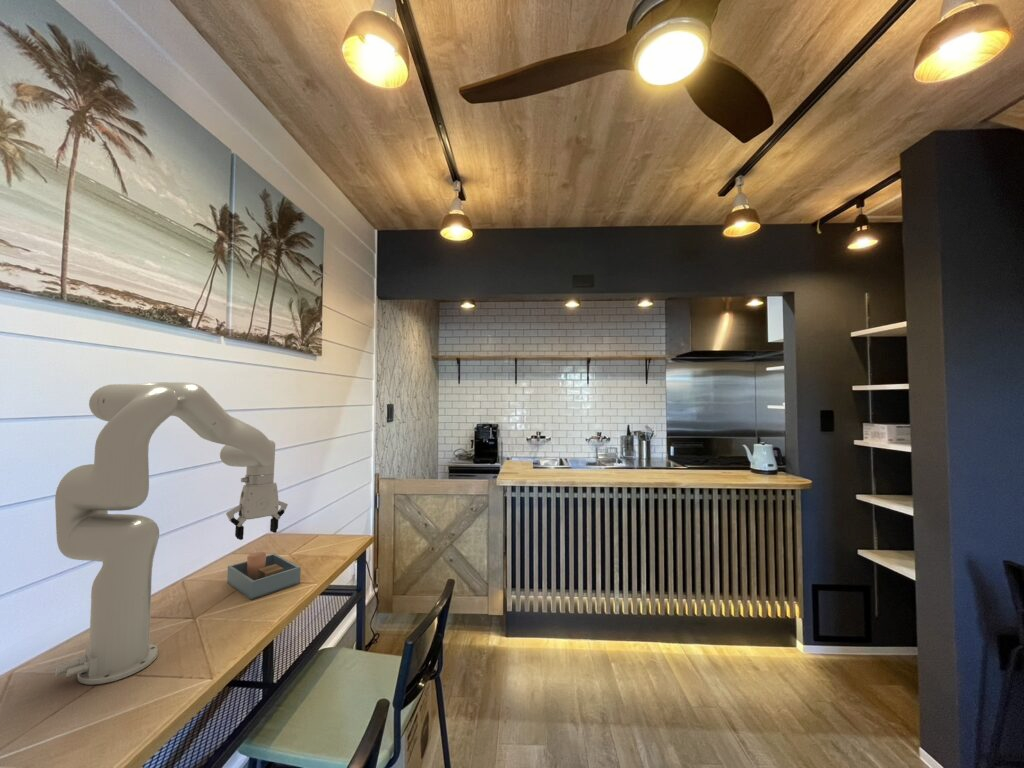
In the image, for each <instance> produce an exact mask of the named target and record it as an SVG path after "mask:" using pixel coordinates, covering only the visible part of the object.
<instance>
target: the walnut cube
mask: <svg viewBox="0 0 1024 768" xmlns="http://www.w3.org/2000/svg"><path fill="white" fill-rule="evenodd" d="M280 572H283V568H282V567H280V566H278V565H277V564H274V565H270V566H267V567H264V568H260V569H258V579H261V578H264V577H267V576H270V575H273V574H277V573H280Z"/></svg>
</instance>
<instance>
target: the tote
mask: <svg viewBox="0 0 1024 768" xmlns="http://www.w3.org/2000/svg"><path fill="white" fill-rule="evenodd" d="M274 564H277V565H278V566H280V567H282V568H283V572H280V573H277V574H273V575H270V576H267V577H264V578H261V579H257V580H252V579H251V578H249V577H248V576H247V560H246V561H242V562H238V563H235V564H231V565H228V566H227V579H226V580H227V584H228V585H229V586H231V587H232V588H234V590H237V591H238V593H241V594H242V595H244V596H245V597H246V598H247V599H249V600H250V599H251V600H250V601H253V599H254V600H257V599H259V598H262V597H265V596H268V595H271V594H275V593H277V592H279V591H282V590H283V591H284V590H285V589H289V588H292V587H295V586H298V585H300V584H301V569H302V568H301V566H299V565H297V564H295V563H294V562H291V561H290V560H287V559H286V558H284V557H282V556H280V555H278V554H276V553H271V554H266V567H267V566H270V565H274Z"/></svg>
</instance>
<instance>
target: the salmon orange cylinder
mask: <svg viewBox="0 0 1024 768" xmlns="http://www.w3.org/2000/svg"><path fill="white" fill-rule="evenodd" d="M266 556H267V553H266V552H264V551H257V552H253V553H249V554H248V555H247V558H246V559H247V560H246V561H247V576H248V577H249V578H251V579H252V580H257V579H258V569H260V568H264V567H266Z"/></svg>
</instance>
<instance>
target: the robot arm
mask: <svg viewBox="0 0 1024 768" xmlns="http://www.w3.org/2000/svg"><path fill="white" fill-rule="evenodd" d="M88 407H89V409H90V412H91V413H92V415H94V417H96V418H97V419H99V420H101V421H104V422H107V423H106V424H105V425H104V426H103V428H102V429H101V430H100V432H99V434H98V436H97V438H96V440H95V445H94V461H93V462H94V463H93V464H91V463H89V464H84V465H80V466H77V467H74V468H72V469H71V470H70V471H68V472H67V473H65V474H64V476H63V477H62V478H61V480H60V481H59V483H58V485H57V487H56V490H55V499H54V504H55V505H54V506H55V507H54V508H55V531H56V533H55V535H56V542H57V546H58V550H59V552H60V553H61V554H62V555H63V556H64V557H66V558H68V559H70V560H71V559H72V560H77V561H89V562H90V561H91V562H92V561H93V562H101V563H102V566H101V568H100V570H99V571H98V573H97V575H96V576H95V578H94V580H93V582H92V585H91V590H90V591H91V592H90V619H89V621H90V622H89V641H88V642H89V644H88V647H89V648H87V649H84V654H83V655H81V656H78V657H77V659H75V660H71V661H67V662H64V663H61V664H58V665H55V670H54V671H55V673H54V675H55V677H58V676H62V675H64V674H66V675H65V677H66V678H68V677H71V676H75V675H77V681H78V682H79V683H81V684H85V685H92V686H93V685H102V684H107V683H111V682H116V681H118V680H121V679H124V678H127V677H129V676H132V675H134V674H136V673H138V672H140V671H142V670H143V669H145V668H147V667H149V666H150V665H151V664H152V663H153V662H155V660H156V659H157V657H158V655H159V648H158V646H157V645H156V644H153V643H150V641H151V640H150V639H151V638H150V635H151V608H152V607H151V606H152V578H153V577H152V576H153V566H154V558H155V554H156V550H157V547H158V543H159V539H160V529H159V528H160V527H159V525H158V524H157V523H156V521H154V520H153V519H152V518H150V517H147V516H143V515H138V514H122V513H108V511H109V512H110V511H111V512H112V511H113V512H115V511H119V512H120V511H129V510H133V509H136V508H138V507H140V506H142V505H143V504H144V503H145V502H146V501H147V498H148V495H149V491H150V469H149V467H150V465H149V463H150V462H149V450H150V449H149V445H150V443H151V438H152V436H153V435H154V433H155V432H156V430H157V429H158V428H159V427H160V426H161V425H162V423H164V422H165V421H166V420H167V419H169V418H170V417H177V418H179V419H180V420H181V421H182V423H183V422H184V423H185V424H186V425H187V426H188V427H189V429H191V430H193V432H195V433H196V434H197V435H198V436H199V437H200V438H201V439H204V440H206V441H208V442H212V443H215V444H220V445H224V446H222V448H221V450H220V452H219V459H220V460H221V462H222V463H223V464H224V465H226V466H229V467H241V468H244V467H245V468H246V473H245V475H244V477H241V478H240V483H245V484H244V485H242V489H241V493H240V496H239V497H240V498H239V504H238V505H237V506H235V507H233V508H231V509H230V510H229V511H227V512H226V513H225V514H226V517H227V518H228V520H229V522H231V523H232V524H233V525H235V529H234V530H235V532H234V536H235V538H236V539H237V540H240V541H242V540H244V533H245V532H244V530H245V527H244V523H245V522H246V521H247V520H254V519H260V518H266V517H271V519H270V526H269V531H270V532H272V533H274V534H276V533H277V532H278V530H279V520H280V519H281V517H282V516H283V515H284V514H285V511H286V509H287V507H288V505H289V504H288V503H287V502H283V501H281V500H279V492H278V484H277V482H274V480H275V461H276V442H275V441H274V440H271V439H269V438H268V436H266V434H265V433H263V432H262V431H261V430H260V429H258V428H256V427H254V426H252V425H250V424H249V423H246V422H244V421H242V420H240V419H238V418H236V417H234V416H232V415H230V414H229V413H228V412H227V411H226V410H225V409H224V408H223V407H222V406H221V405H220V404H219V403H218V401H216V400H215V399H214V398H213V396H212V395H211V394H210V393H209V392H208V391H207V390H205V388H204V387H202V386H201V385H199V384H197V383H194V382H169V381H167V382H148V383H146V382H145V383H123V384H122V383H119V384H118V383H117V384H116V383H115V384H107V385H103V386H101V387H99V388H98V389H96V390H95V391H94V392H93V393H92V394H91V396H90V398H89V401H88ZM279 507H280V509H279ZM237 513H238V517H237V518H235V515H236V514H237Z"/></svg>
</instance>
